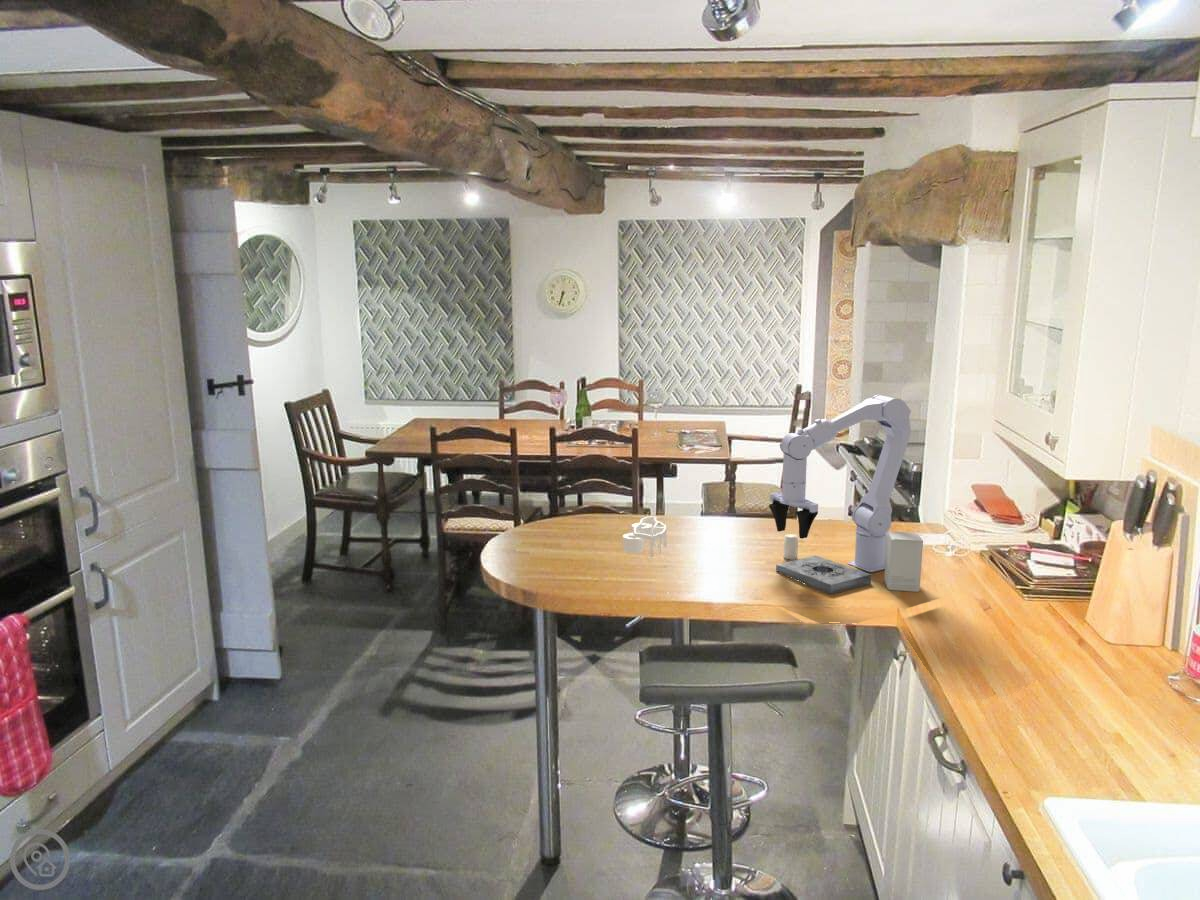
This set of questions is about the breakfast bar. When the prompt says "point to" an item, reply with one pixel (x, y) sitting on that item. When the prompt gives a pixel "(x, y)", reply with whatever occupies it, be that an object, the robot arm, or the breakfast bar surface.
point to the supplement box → (903, 561)
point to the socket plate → (824, 574)
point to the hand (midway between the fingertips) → (792, 534)
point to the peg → (790, 546)
